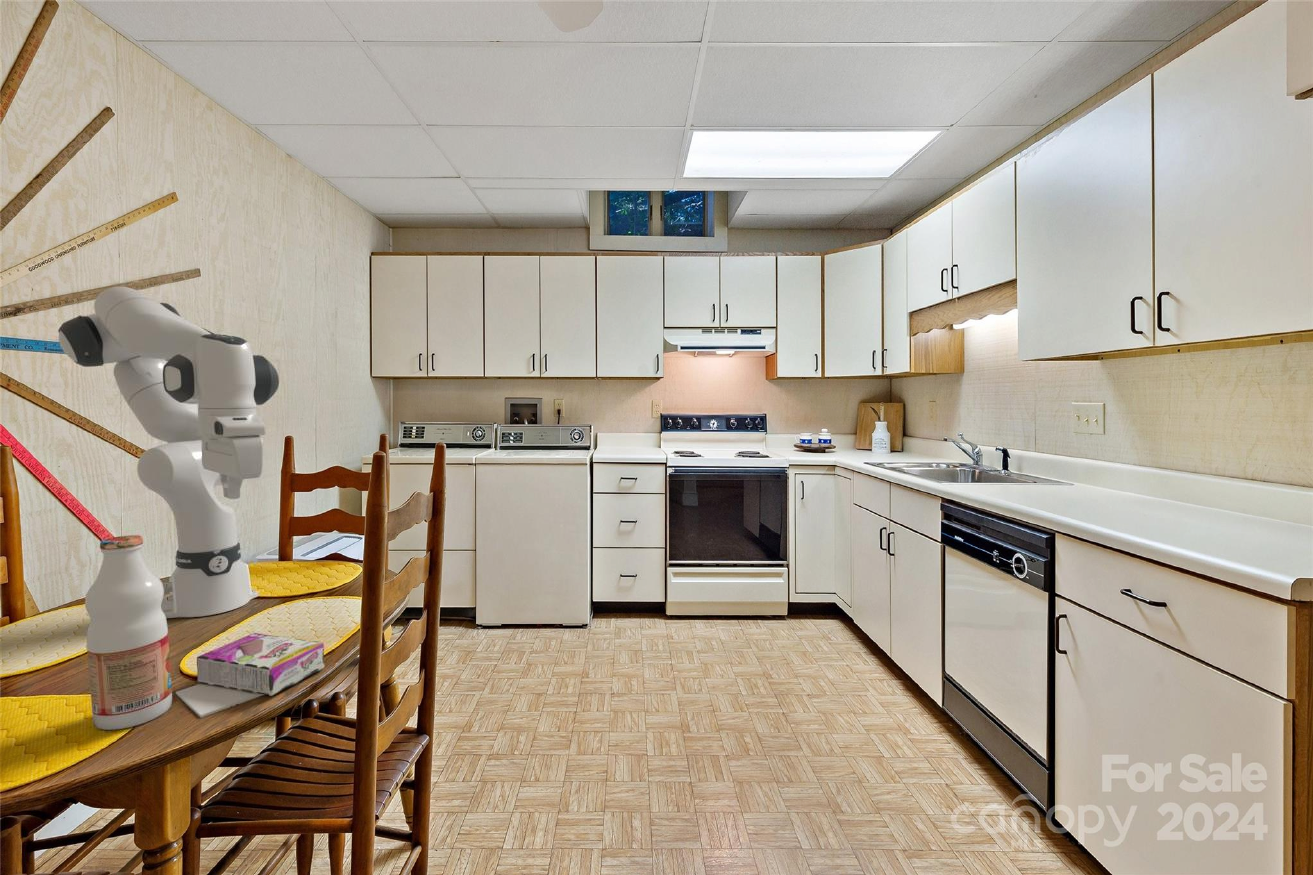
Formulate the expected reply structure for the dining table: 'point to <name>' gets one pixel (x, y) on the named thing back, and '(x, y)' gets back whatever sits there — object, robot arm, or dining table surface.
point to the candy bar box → (260, 663)
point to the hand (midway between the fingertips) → (232, 497)
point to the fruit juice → (127, 639)
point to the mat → (213, 698)
